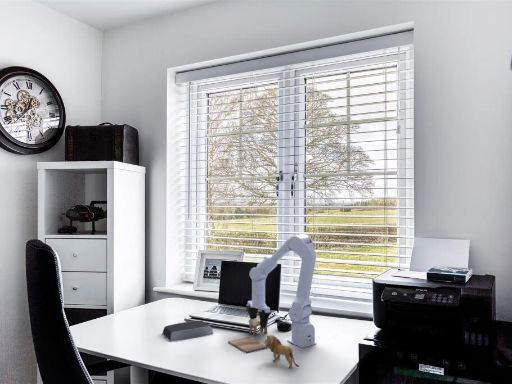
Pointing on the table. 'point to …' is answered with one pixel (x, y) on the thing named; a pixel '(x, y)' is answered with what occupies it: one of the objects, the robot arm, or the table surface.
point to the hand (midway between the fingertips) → (258, 325)
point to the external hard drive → (187, 330)
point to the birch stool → (254, 324)
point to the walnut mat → (247, 344)
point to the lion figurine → (279, 349)
